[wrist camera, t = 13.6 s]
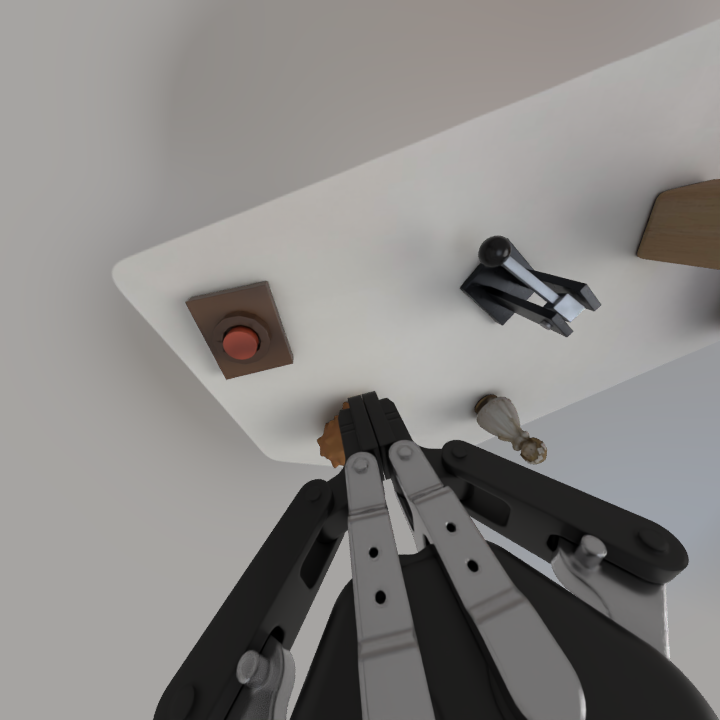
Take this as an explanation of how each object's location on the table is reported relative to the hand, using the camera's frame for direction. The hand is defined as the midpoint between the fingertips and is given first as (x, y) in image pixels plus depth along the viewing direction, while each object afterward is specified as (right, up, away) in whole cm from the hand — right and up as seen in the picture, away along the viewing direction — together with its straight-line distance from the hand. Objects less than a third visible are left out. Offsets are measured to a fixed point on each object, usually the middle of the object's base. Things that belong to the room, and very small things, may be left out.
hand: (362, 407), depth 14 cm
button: (-16, +5, +21) cm, 27 cm away
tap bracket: (+23, +15, +29) cm, 39 cm away
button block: (-16, +7, +24) cm, 30 cm away
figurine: (+27, -7, +42) cm, 50 cm away
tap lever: (+21, +13, +20) cm, 32 cm away
